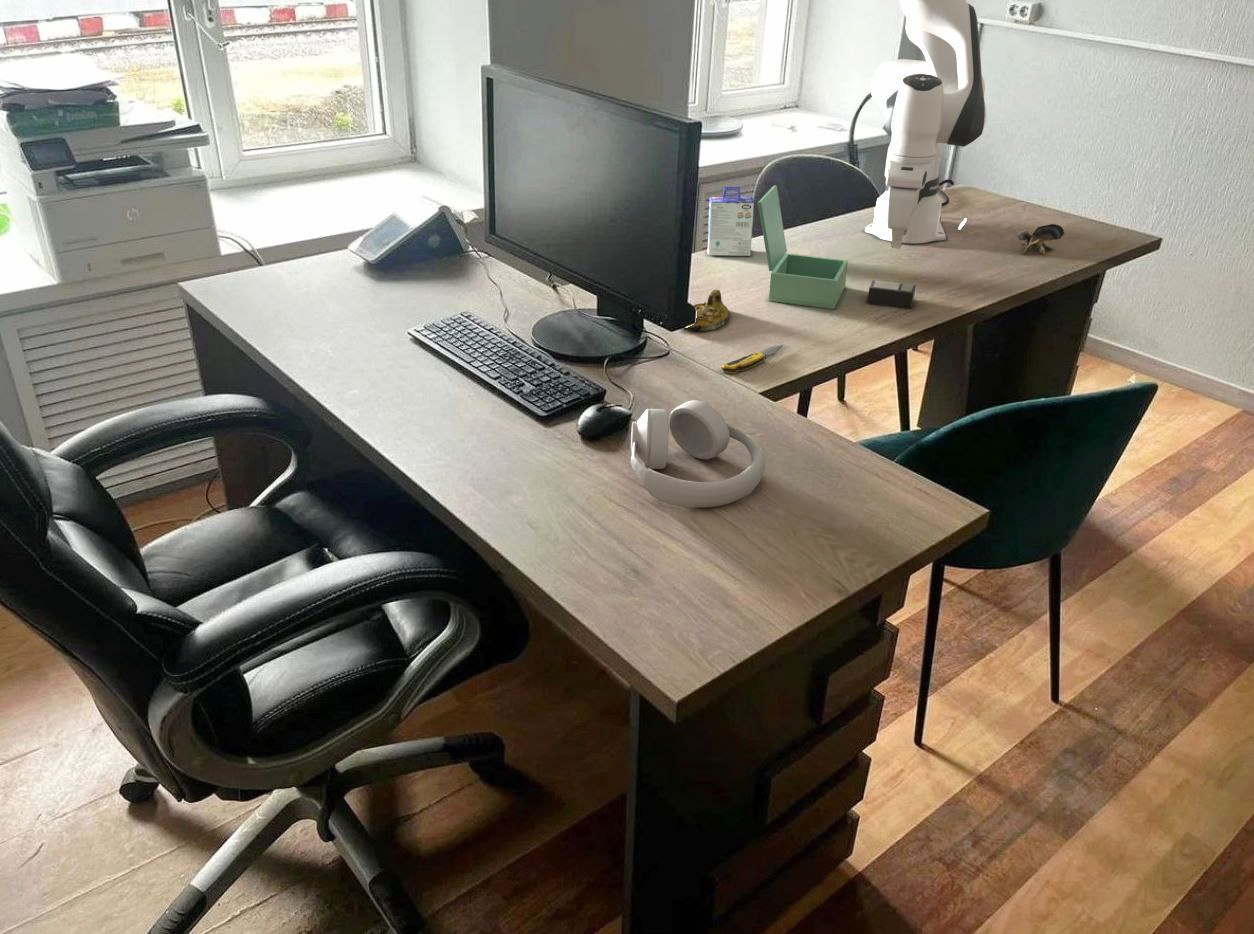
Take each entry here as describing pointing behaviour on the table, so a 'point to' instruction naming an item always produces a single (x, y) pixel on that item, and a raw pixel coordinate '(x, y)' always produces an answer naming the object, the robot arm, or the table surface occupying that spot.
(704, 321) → the seal
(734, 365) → the utility knife
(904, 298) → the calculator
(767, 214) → the cover
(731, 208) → the ink cartridge box
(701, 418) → the headphones
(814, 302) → the green box
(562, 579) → the table surface
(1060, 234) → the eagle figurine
